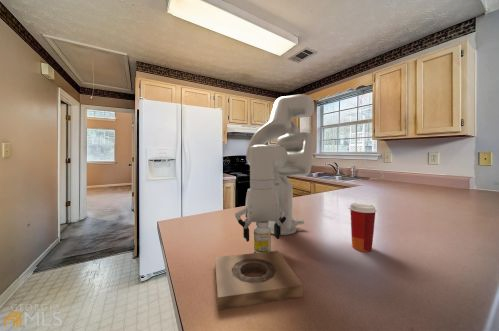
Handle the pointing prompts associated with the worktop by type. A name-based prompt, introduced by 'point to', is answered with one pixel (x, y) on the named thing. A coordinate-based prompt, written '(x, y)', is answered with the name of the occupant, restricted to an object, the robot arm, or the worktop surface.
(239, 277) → the seat board
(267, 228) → the supplement bottle
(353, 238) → the paper cup
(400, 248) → the worktop surface
